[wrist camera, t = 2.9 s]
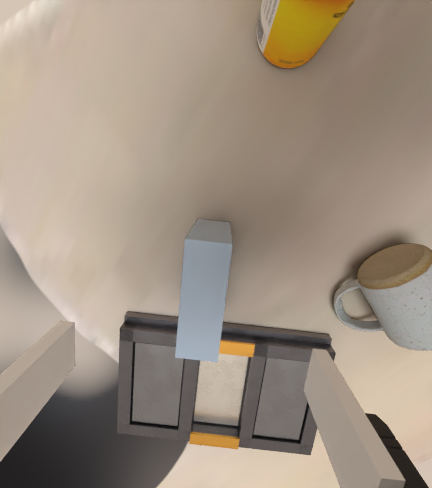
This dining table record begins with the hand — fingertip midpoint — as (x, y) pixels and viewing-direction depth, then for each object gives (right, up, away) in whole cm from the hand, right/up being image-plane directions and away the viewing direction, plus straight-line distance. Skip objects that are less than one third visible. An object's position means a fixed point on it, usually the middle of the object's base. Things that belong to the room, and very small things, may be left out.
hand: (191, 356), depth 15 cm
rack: (+2, -11, +19) cm, 22 cm away
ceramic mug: (+20, +1, +16) cm, 25 cm away
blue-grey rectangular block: (+1, +4, +16) cm, 16 cm away
